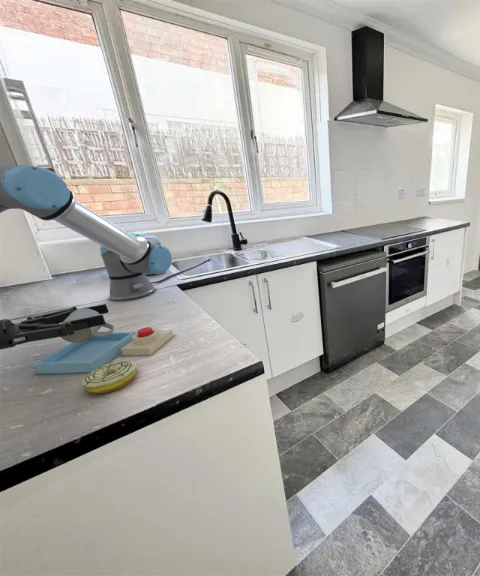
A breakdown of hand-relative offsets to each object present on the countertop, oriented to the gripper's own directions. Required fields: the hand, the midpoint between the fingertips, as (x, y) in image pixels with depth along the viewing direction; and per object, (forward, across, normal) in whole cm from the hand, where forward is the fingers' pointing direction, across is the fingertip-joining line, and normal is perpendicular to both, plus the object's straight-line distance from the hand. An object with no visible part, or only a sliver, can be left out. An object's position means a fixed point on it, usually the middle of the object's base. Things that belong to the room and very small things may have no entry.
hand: (105, 313), depth 90 cm
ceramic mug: (-5, 0, -6) cm, 8 cm away
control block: (+8, +5, -11) cm, 14 cm away
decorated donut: (0, +21, -12) cm, 24 cm away
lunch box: (+6, -88, -11) cm, 89 cm away
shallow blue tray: (-6, +2, -11) cm, 13 cm away
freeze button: (+8, +5, -8) cm, 12 cm away
